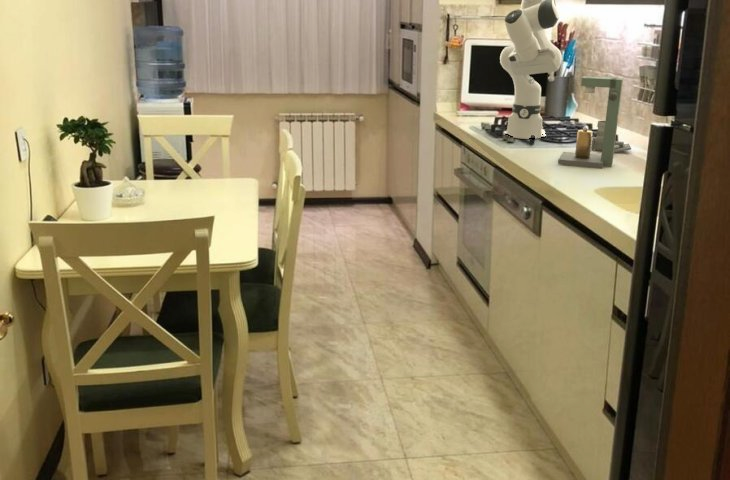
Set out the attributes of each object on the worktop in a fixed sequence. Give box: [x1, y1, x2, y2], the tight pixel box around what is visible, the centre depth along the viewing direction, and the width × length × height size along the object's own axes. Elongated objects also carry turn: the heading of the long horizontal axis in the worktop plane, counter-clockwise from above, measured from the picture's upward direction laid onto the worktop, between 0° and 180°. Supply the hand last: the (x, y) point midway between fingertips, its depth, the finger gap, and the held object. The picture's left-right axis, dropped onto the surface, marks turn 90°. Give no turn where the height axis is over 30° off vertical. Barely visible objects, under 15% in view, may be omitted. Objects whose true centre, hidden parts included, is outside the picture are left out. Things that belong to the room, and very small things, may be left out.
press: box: [557, 75, 624, 169], centre depth 277 cm, size 20×19×32 cm
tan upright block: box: [574, 126, 594, 159], centre depth 283 cm, size 5×5×12 cm
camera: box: [591, 120, 632, 153], centre depth 303 cm, size 9×12×15 cm
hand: (541, 81), depth 292 cm, fingers open, 8 cm apart
